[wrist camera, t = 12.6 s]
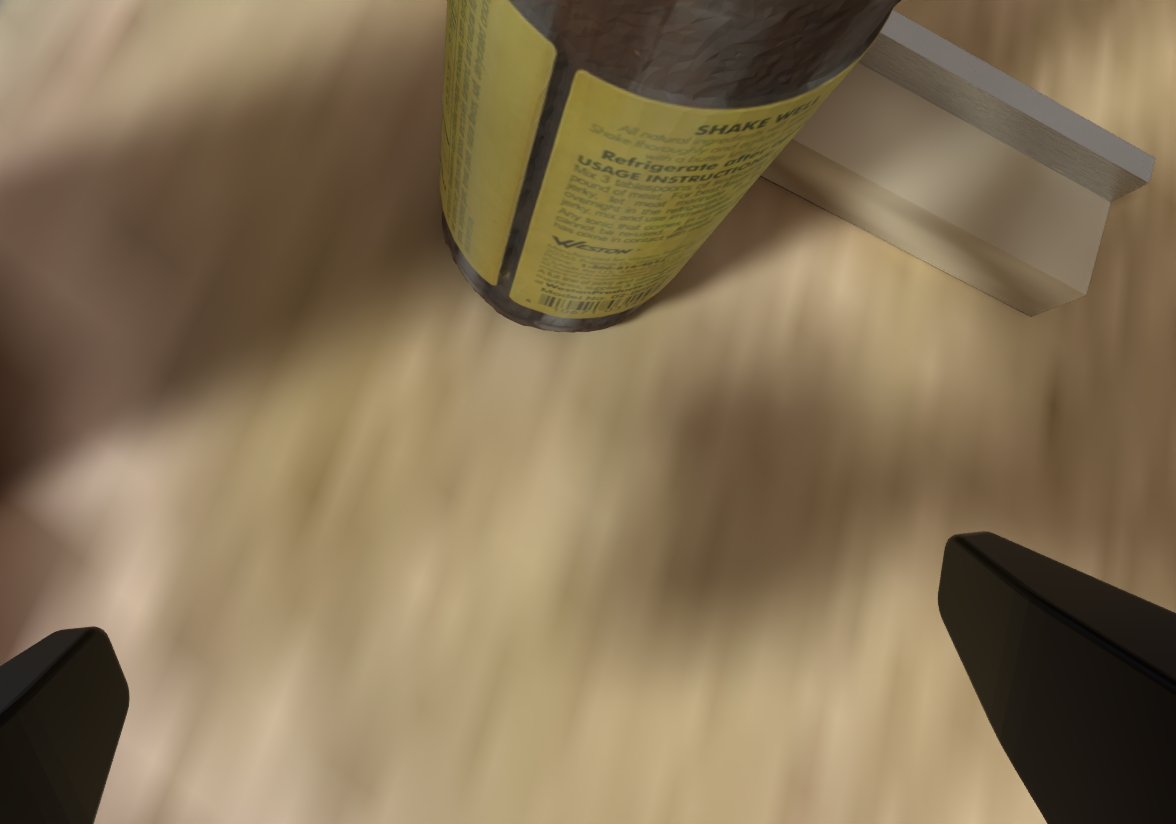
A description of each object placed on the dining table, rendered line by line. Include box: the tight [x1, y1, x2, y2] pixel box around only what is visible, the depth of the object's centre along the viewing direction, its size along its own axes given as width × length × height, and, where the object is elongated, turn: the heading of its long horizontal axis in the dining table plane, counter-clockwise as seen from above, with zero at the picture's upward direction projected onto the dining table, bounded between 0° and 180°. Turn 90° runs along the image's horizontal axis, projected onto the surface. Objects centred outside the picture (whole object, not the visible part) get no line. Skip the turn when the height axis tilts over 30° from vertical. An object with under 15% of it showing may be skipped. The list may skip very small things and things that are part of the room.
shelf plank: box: [760, 63, 1111, 316], centre depth 22 cm, size 18×3×2 cm, turn 67°
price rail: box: [858, 9, 1155, 202], centre depth 22 cm, size 18×1×3 cm, turn 67°
